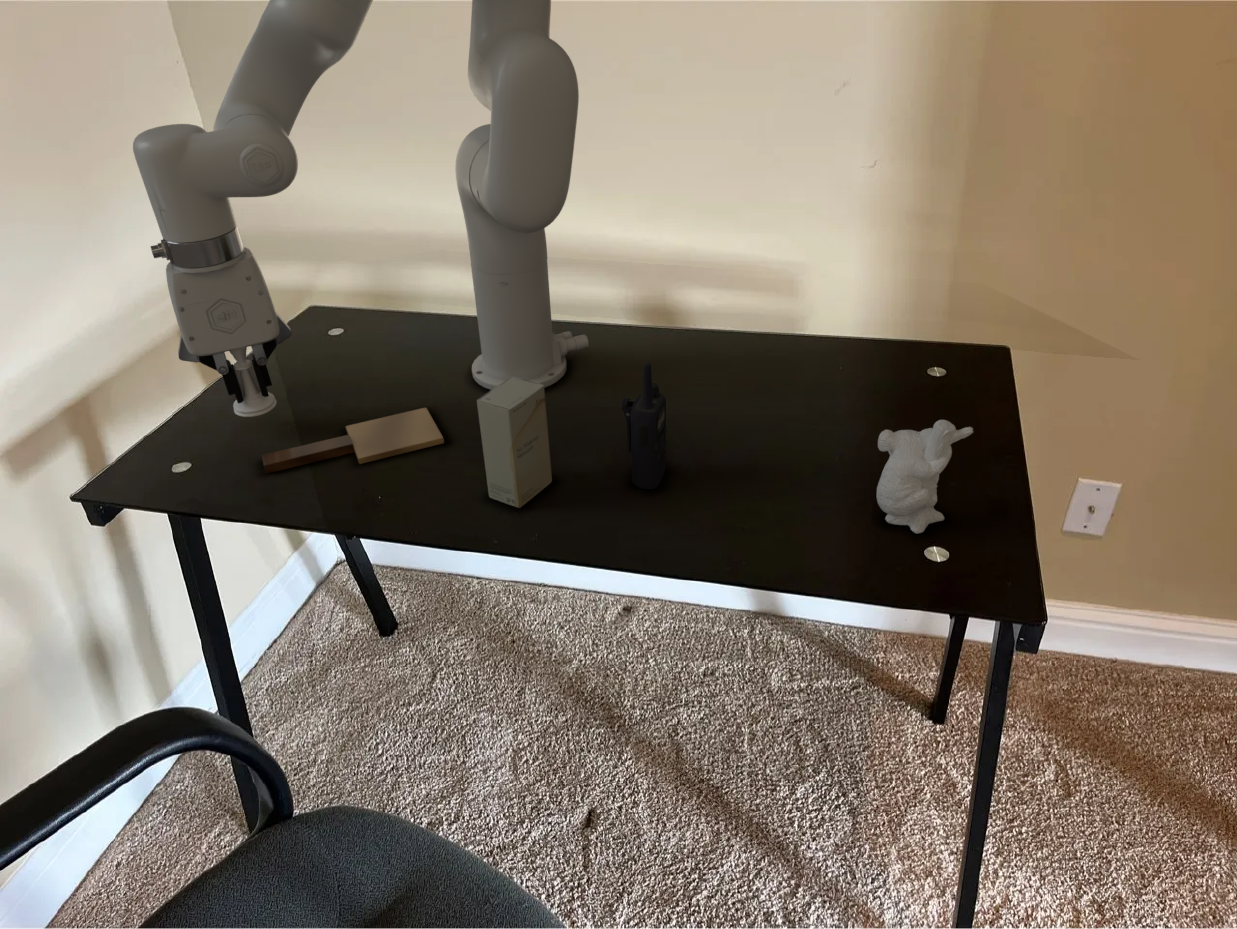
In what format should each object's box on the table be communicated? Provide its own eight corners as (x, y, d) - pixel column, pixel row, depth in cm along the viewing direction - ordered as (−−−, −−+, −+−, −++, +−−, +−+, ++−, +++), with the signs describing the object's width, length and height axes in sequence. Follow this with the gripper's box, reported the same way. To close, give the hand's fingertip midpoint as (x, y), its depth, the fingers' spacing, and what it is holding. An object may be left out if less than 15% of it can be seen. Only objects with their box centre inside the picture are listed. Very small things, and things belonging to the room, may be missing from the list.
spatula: (427, 412, 115) (425, 404, 114) (444, 443, 109) (443, 434, 108) (260, 451, 108) (258, 443, 108) (269, 487, 102) (266, 478, 101)
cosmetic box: (519, 510, 97) (509, 411, 90) (486, 498, 99) (474, 400, 92) (554, 480, 102) (546, 384, 95) (521, 469, 104) (512, 374, 97)
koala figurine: (955, 510, 95) (977, 410, 89) (948, 548, 90) (971, 446, 84) (872, 494, 98) (887, 396, 91) (861, 530, 93) (877, 429, 86)
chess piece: (263, 418, 108) (240, 342, 102) (225, 415, 109) (200, 339, 103) (284, 397, 112) (263, 322, 106) (247, 394, 113) (225, 320, 107)
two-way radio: (656, 495, 99) (656, 371, 91) (617, 488, 100) (613, 366, 92) (669, 467, 103) (670, 346, 95) (631, 461, 104) (629, 342, 96)
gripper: (125, 274, 94) (183, 427, 104) (286, 243, 99) (325, 392, 109) (125, 250, 99) (179, 397, 110) (276, 222, 104) (315, 365, 115)
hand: (252, 393), depth 109 cm, fingers closed on chess piece
